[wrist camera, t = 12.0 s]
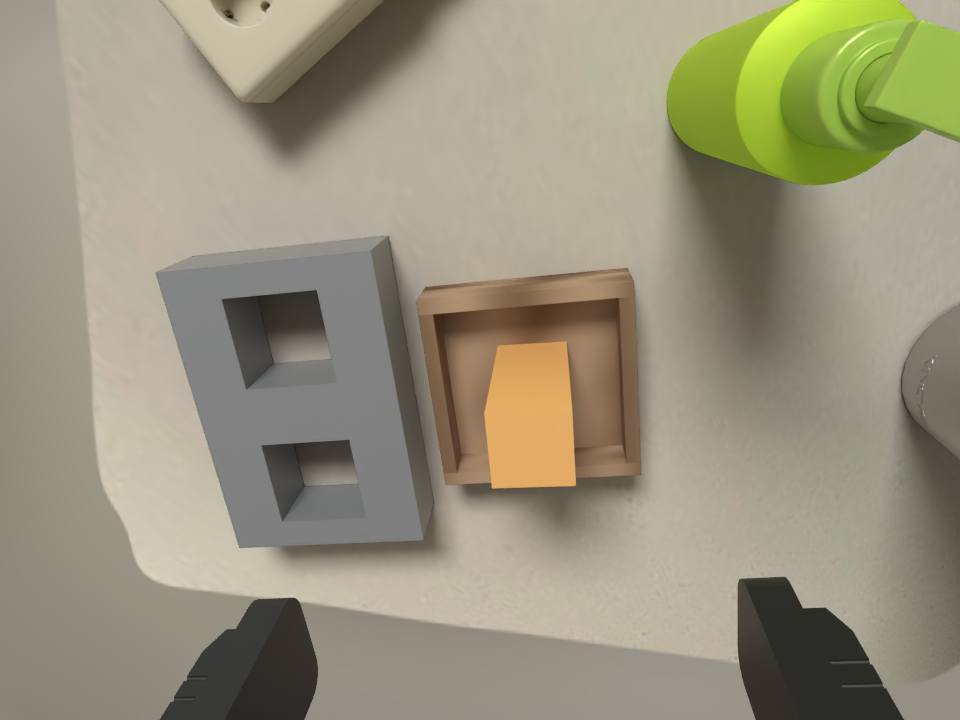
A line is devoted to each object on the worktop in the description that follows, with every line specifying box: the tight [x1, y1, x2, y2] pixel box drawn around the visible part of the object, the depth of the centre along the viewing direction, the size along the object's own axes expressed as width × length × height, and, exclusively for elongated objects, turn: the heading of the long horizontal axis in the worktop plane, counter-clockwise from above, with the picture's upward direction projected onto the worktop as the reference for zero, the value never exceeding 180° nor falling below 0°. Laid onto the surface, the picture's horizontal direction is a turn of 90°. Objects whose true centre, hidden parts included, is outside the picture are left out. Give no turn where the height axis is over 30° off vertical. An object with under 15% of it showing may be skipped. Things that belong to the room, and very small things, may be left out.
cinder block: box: [156, 236, 434, 548], centre depth 39 cm, size 12×18×4 cm, turn 7°
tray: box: [416, 268, 641, 485], centre depth 38 cm, size 12×12×3 cm
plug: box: [484, 342, 576, 488], centre depth 34 cm, size 4×4×9 cm
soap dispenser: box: [667, 0, 960, 185], centre depth 24 cm, size 6×7×20 cm
